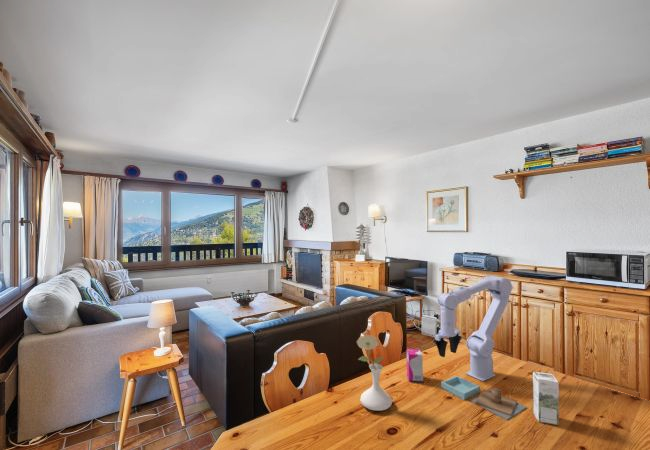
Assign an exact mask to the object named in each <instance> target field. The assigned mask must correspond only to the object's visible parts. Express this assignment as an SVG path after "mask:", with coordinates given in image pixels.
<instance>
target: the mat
mask: <svg viewBox="0 0 650 450" xmlns="http://www.w3.org/2000/svg"><path fill="white" fill-rule="evenodd" d="M488 391H489V392H491V389H489V390H488ZM479 396H480V395H477V396H476V397H474V398H472V399H470V402H471V403H473V404H475V405H477V406H479V407H481V408H483V409H484V410H486V411H489V412H491V413H492V414H495V416H498V417H500V418H502V419H504V420H506V421H509V420H510V419H511V418H513V417H515V416H516V415H518V414H519V413H521V412H523V411H525V410H526V409H528V408H527V406H526V405H523V404H521V403H519V402H517V403H516V405H515V408H514V410H513V412H512V415H511V416H509V415H506V414H503V413H500V412H498V411H495V410H492V409H489V408H486V407H484V406H481V405H478V404H476V401H477V399H478V398H479Z"/></svg>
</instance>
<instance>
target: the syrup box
mask: <svg viewBox="0 0 650 450" xmlns="http://www.w3.org/2000/svg"><path fill="white" fill-rule="evenodd" d="M559 386H560V382H559V381H558V380H557V378H556V377H555V375H554V374H552V373H546V372H539V371H533V372H532V413H533V415H534V416H535V418H536V420H537V422H538V423H542V424H547V425H554V426H559V425H560V423H559V422H560V421H559V420H560V418H559V416H560V413H559V412H560V409H559V405H560V403H559V399H560V393H559V392H560V387H559Z"/></svg>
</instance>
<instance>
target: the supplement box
mask: <svg viewBox="0 0 650 450" xmlns="http://www.w3.org/2000/svg"><path fill="white" fill-rule="evenodd" d="M423 364H424V363H423V353H422V352H421V350H420V349H413V348H412V349H410V348H409V349H408V348H407V349H406V376H407V379H408V381H409V383H423V382H424V370H423V369H424V368H423V367H424V365H423Z"/></svg>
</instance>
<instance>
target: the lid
mask: <svg viewBox="0 0 650 450" xmlns="http://www.w3.org/2000/svg"><path fill="white" fill-rule="evenodd" d="M490 390H491V392H489V391H490ZM490 390H485V389H483V390H482V391H481V392H480V395H478V396H479V398H478V399H477V401H476V404H475V405H477V404H478V405H477V406H479V405H481V406H484V407H486V408H489V409H492V410H495V411H498V412H500V413H503V414H506V415H509V416H511V415H512V412H513V410H514V408H515V405H516V403H518V400H517V399H514V398H510V397H508V396H505V395H503V394H502V390H501V389H500V388H497V387H492V388H490ZM481 406H480V407H481Z"/></svg>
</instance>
